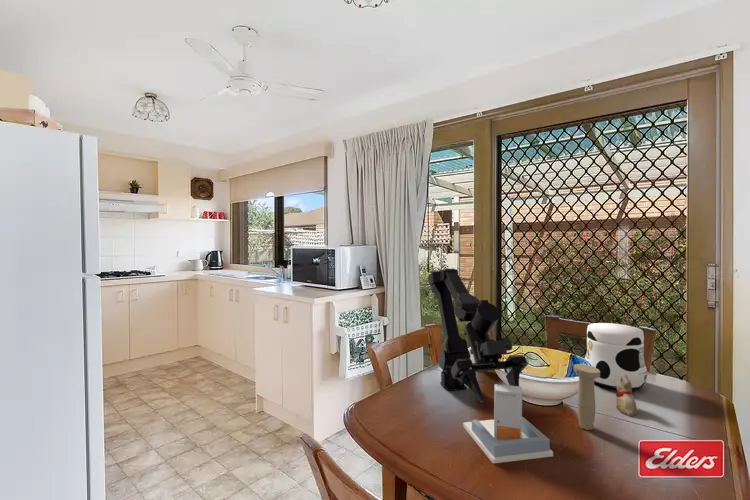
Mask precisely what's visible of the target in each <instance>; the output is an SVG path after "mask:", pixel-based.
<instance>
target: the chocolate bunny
mask: <svg viewBox="0 0 750 500" xmlns="http://www.w3.org/2000/svg"><path fill="white" fill-rule="evenodd" d="M631 386H632V385H631V382H630V381H629V379H628V377H627V375H621V377H620V380H619V381H618V382H617V386H616V388H615V389H616V391H617V392H615V399H616V405H615V408H616V410H617V411H618V412H619V413H621V414H623V415H625V416H628V417H634V416H637V415H638V407H637V402H636V399H635V397H634V396H633V391H632V390H633V389H632V387H631Z"/></svg>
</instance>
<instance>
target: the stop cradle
mask: <svg viewBox="0 0 750 500" xmlns="http://www.w3.org/2000/svg"><path fill="white" fill-rule="evenodd" d="M462 425H463V426H462V427H463V428H464V429H465V430H466V432H467V433H468V434H469V436H470V437H471V439H473V440H474V442H475V443H476V444H477V445H478V447H479V448H480V449H481V451H482V452H483V453H484V455H485V456H486V457H487V458H488V460H490V461H491V463H492V464H500V463H509V462H518V461H525V460H533V459H542V458H549V457H550V458H551V457H554V451H553V450H552V449H550V448H551V447H550V444H551V443H550V440H551V439H549V437H547V436H546V435H545V434H544V433H542V432H541V431H540V430H539V429H538V428H536V426H534V425H533V424H532V423H531V422H530V421H528V420H527V419H526V418H525V417H523V416H522V439H514V440H505V441H497V440H496V439H495V438H494V419H486V420H479V419H471V421H466V422H463V423H462Z"/></svg>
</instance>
